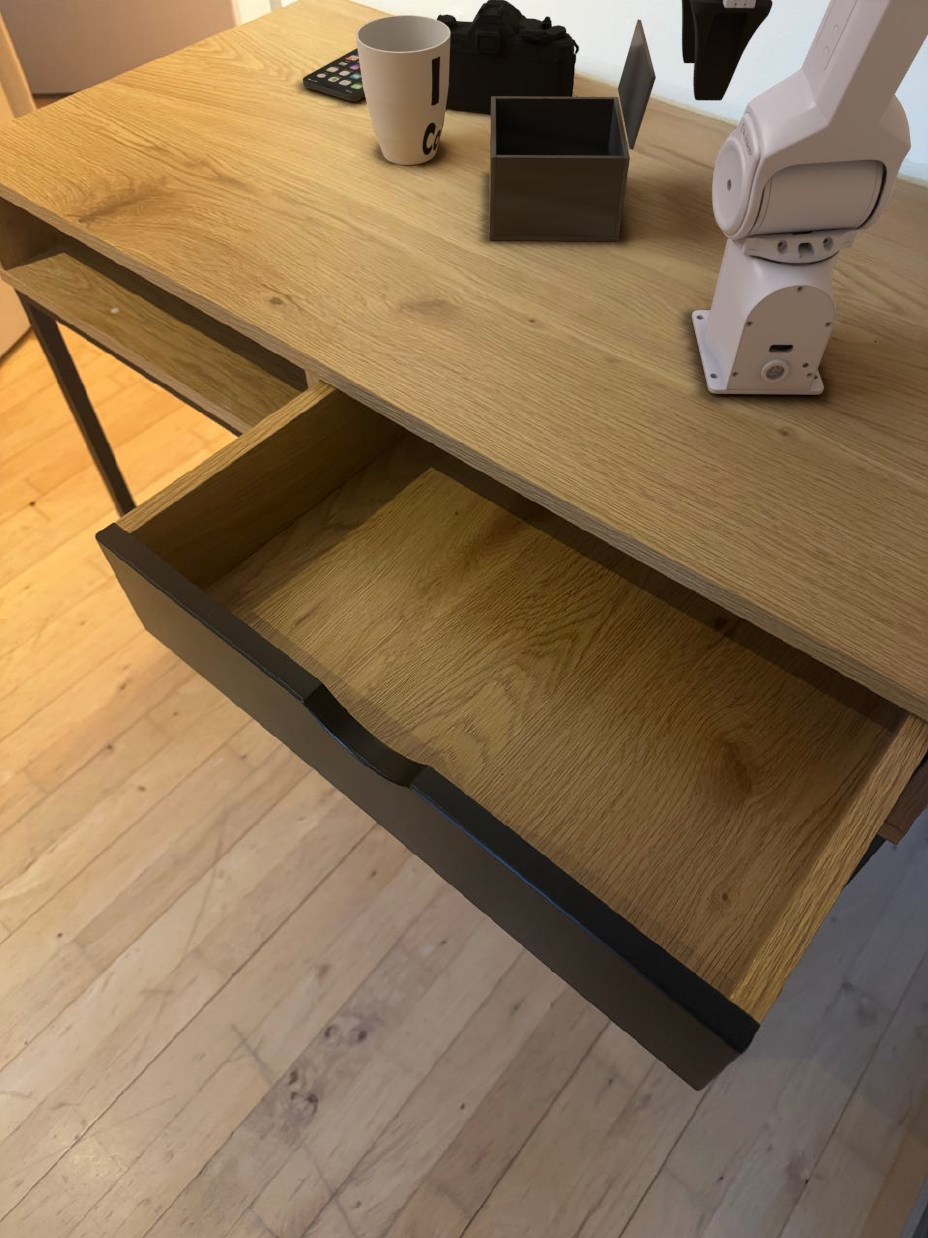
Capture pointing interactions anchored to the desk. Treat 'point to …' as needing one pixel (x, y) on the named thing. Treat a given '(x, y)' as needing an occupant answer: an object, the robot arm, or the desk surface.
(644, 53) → the flap
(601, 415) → the desk surface
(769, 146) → the robot arm
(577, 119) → the carton
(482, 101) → the film camera
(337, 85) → the smartphone
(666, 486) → the desk surface
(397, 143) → the cup
